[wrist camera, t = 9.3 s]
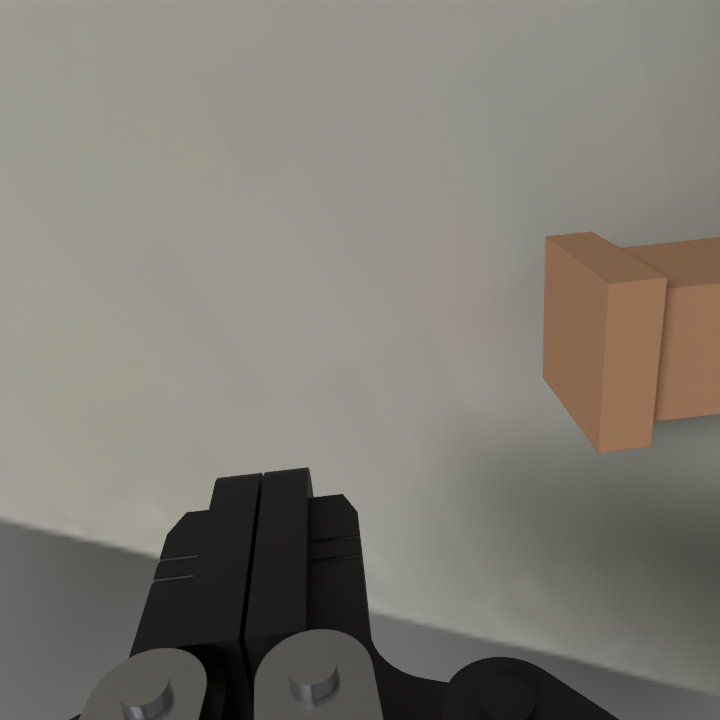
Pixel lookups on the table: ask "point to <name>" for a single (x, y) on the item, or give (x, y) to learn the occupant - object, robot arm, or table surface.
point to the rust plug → (631, 334)
